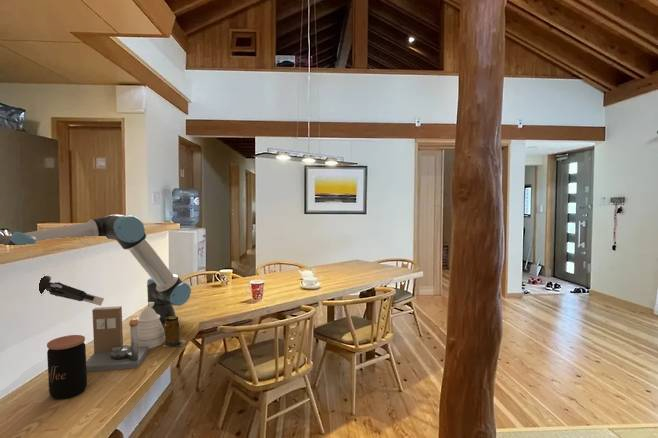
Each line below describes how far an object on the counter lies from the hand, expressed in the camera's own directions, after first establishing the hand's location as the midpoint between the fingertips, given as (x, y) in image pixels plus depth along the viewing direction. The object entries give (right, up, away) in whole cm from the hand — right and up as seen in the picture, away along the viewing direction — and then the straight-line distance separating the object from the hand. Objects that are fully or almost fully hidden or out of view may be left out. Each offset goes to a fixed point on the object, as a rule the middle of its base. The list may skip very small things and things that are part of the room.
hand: (102, 302), depth 153 cm
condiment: (+21, -23, +20) cm, 37 cm away
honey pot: (+9, -23, +20) cm, 32 cm away
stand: (+5, -24, +2) cm, 25 cm away
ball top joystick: (+9, -22, +1) cm, 24 cm away
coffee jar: (+2, -26, -22) cm, 34 cm away
